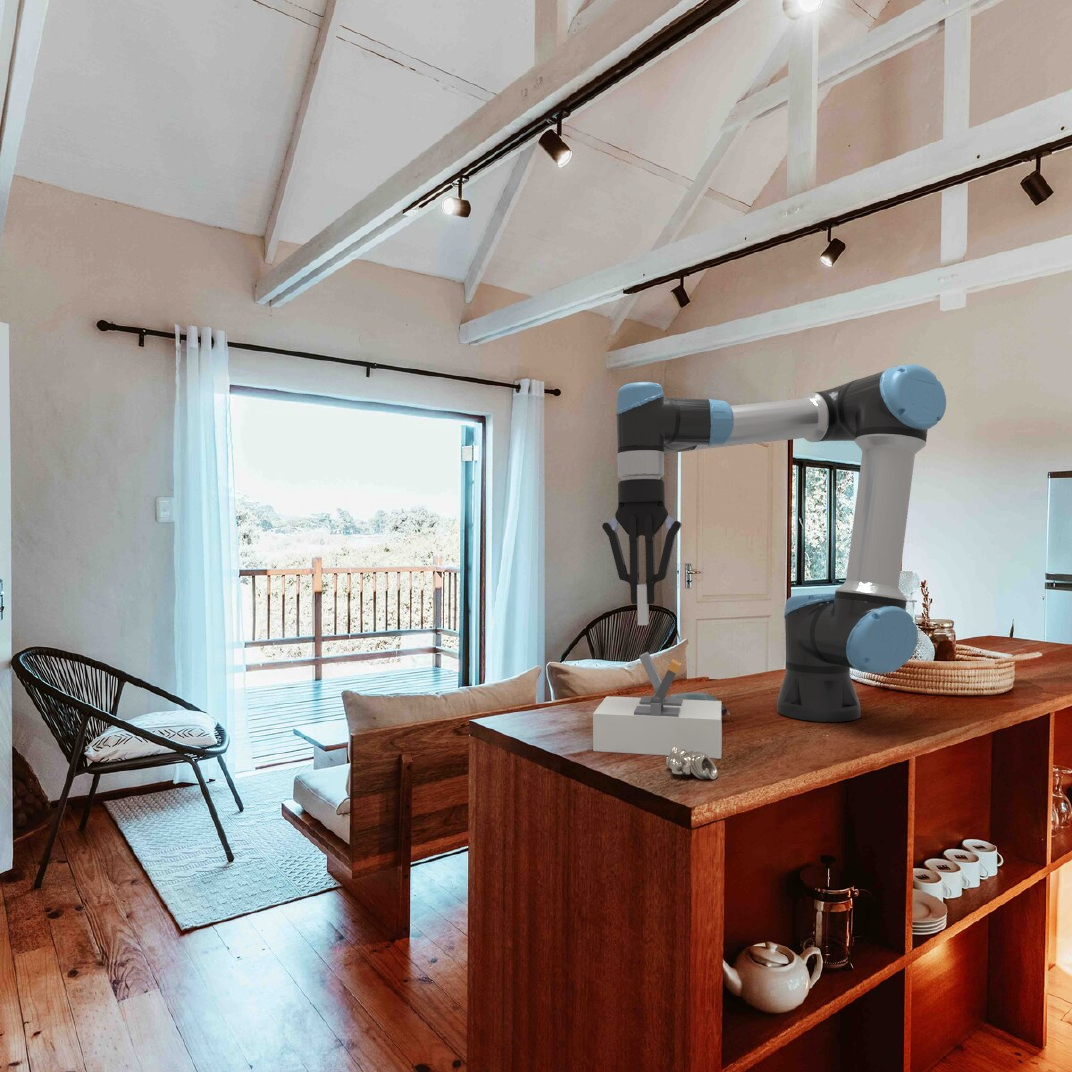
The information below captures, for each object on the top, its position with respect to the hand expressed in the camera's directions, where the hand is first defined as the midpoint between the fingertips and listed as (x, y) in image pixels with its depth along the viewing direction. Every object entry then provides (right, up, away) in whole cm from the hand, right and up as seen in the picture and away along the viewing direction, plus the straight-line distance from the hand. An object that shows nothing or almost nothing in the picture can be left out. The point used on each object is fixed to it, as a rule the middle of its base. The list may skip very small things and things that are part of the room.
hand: (643, 624), depth 121 cm
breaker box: (+3, -20, +3) cm, 21 cm away
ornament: (+5, -21, -14) cm, 25 cm away
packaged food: (+13, -21, +21) cm, 32 cm away
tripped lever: (+2, -12, -1) cm, 13 cm away
